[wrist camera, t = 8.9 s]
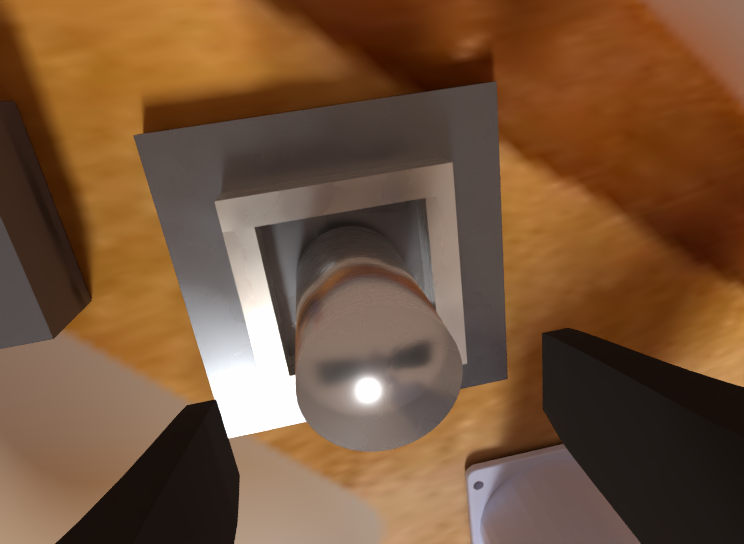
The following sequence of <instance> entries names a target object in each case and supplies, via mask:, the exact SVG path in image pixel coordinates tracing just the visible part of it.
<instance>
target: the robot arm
mask: <svg viewBox="0 0 744 544" xmlns="http://www.w3.org/2000/svg"><path fill="white" fill-rule="evenodd" d="M542 363H543V410H544V412H545V413H546V415H547V417H548V419H549V420H550V422H551V424H552V426H553V427H554V429H555V431H556V432H557V434H558V436H559V437H560V439H561V441H562V442H563V444H561V445H556V446H552V447H548V448H543V449H539V450H535V451H530V452H526V453H522V454H517V455H513V456H508V457H504V458H500V459H495V460H491V461H487V462H482V463H478V464H474V465H471V466H470V467H469V468H468V469H467V470H466V474H465V476H466V488H467V501H468V513H469V525H470V537H471V544H744V387H741V386H737V385H734V384H730V383H727V382H724V381H721V380H718V379H714V378H711V377H708V376H705V375H702V374H699V373H696V372H693V371H689V370H687V369H684V368H681V367H678V366H675V365H672V364H669V363H666V362H664V361H661V360H658V359H655V358H652V357H650V356H647V355H644V354H642V353H639V352H636V351H633V350H631V349H628V348H625V347H623V346H620V345H617V344H615V343H612V342H609V341H607V340H604V339H601V338H598V337H596V336H593V335H590V334H587V333H584V332H581V331H578V330H574V329H570V328H565V329H560V330H555V331H550V332H545V333H542ZM239 477H240V475H239V472H238V468H237V465H236V462H235V459H234V456H233V452H232V449H231V446H230V442H229V439H228V435H227V432H226V429H225V426H224V422H223V419H222V416H221V413H220V409H219V406H218V403H217V399H216V400H211V401H206V402H201V403H196V404H191V405H187V406H186V407H185V408H184V409H183V410H182V411H181V412H180V413H179V414H178V415H177V416H176V417H175V418H174V420H173V421H172V422H171V423H170V424H169V425H168V427H167V428H166V429H165V430H164V431H163V432H162V433H161V434H160V436H159V437H158V438H157V439H156V440H155V441H154V442H153V444H152V445H151V446H150V447H149V448H148V449H147V450H146V451H145V453H144V454H143V455H142V456H141V457H140V458H139V459H138V460H137V461H136V462H135V463H134V465H133V466H132V467H131V468H130V469H129V470H128V471H127V472H126V474H125V475H124V476H123V477H122V478H121V479H120V480H119V481H118V482H117V483H116V484H115V485H114V486H113V487H112V488H111V489H110V490H109V491H108V492H107V493H106V494H105V495H104V496H103V497H102V498H101V499H100V500H99V501H98V503H96V504H95V505H94V506H93V508H92V509H91V510H90V511H89V512H88V513H87V514H86V515H85V516H84V517H83V518H82V519H81V520H80V521H79V522H78V523H77V524H76V525H75V526H74V527H72V528H71V529H70V530H69V531H68V532H67V533H66V534H65V535H64V536H63V537H62V538H61V539H60V540H59V541H58V542H56V543H55V544H234V540H235V534H236V528H237V521H238V519H237V518H238V504H239V503H238V502H239ZM478 481H479V482H478ZM475 482H478V483H476V484H475Z"/></svg>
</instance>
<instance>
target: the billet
mask: <svg viewBox="0 0 744 544" xmlns="http://www.w3.org/2000/svg"><path fill="white" fill-rule="evenodd" d="M462 374H463V368H462V359H461V355H460V352H459V349H458V346H457V344H456V342H455V341H454V339H453V337H452V335H451V334H450V332H449V331H448V329H447V328H446V326H445V325H444V323H443V322H442V320H441V319H440V317H439V315H438V314H437V312H436V311H435V309H434V308H433V306H432V305H431V303H430V302H429V300H428V298H427V297H426V295H425V294H424V292H423V291H422V289H421V288H420V286H419V285H418V283H417V281H416V280H415V278H414V277H413V275H412V274H411V272H410V271H409V269H408V268H407V266H406V264H405V263H404V261H403V260H402V258H401V257H400V255H399V254H398V252H397V251H396V249H395V248H394V246H393V245H392V244H391V242H389V241H388V240H387V239H386V238H385V237H384V236H382V235H381V234H380V233H378V232H376V231H374V230H371V229H368V228H365V227H360V226H343V227H338V228H335V229H331V230H329V231H327V232H325V233H323V234H321V235H320V236H318V237H317V238H316V239H314V240H313V241H312V242H311V243H310V244H309V245H308V247H307V248H306V249H305V251H304V252H303V254H302V256H301V258H300V260H299V263H298V267H297V272H296V344H295V390H296V398H297V402H298V405H299V408H300V410H301V413H302V415H303V416H304V418H305V420H306V421H307V422H308V424H309V425H310V426H311V427H312V429H314V430H315V431H316V432H317V433H318V434H319V435H320V436H322V437H323V438H325V439H326V440H328V441H330V442H332V443H334V444H336V445H338V446H341V447H344V448H347V449H352V450H357V451H385V450H390V449H395V448H398V447H401V446H404V445H407V444H409V443H411V442H414V441H416V440H418V439H419V438H421V437H423V436H424V435H426V434H427V433H429V432H430V431H431V430H433V429H434V428H435V427H436V426H437V425H438V424H439V423H440V422H441V421H442V420H443V419H444V418H445V417H446V415H447V414H448V413H449V411H450V410H451V408H452V407H453V405H454V403H455V401H456V399H457V396H458V394H459V391H460V387H461V383H462Z"/></svg>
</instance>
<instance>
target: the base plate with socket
mask: <svg viewBox="0 0 744 544" xmlns="http://www.w3.org/2000/svg"><path fill="white" fill-rule="evenodd" d="M133 136H134V139H135V142H136V146H137V149H138V152H139V155H140V159H141V162H142V165H143V168H144V172H145V175H146V178H147V181H148V185H149V188H150V191H151V194H152V198H153V201H154V204H155V207H156V210H157V214H158V217H159V220H160V223H161V227H162V230H163V233H164V236H165V240H166V243H167V246H168V249H169V253H170V256H171V259H172V262H173V266H174V269H175V272H176V275H177V279H178V282H179V285H180V288H181V292H182V295H183V298H184V301H185V305H186V308H187V311H188V314H189V318H190V321H191V324H192V327H193V331H194V334H195V337H196V340H197V344H198V347H199V350H200V353H201V357H202V360H203V363H204V366H205V370H206V373H207V376H208V379H209V383H210V386H211V389H212V392H213V396H214V399H215V400H216V399H217V403H218V406H219V409H220V413H221V416H222V419H223V422H224V426H225V429H226V432H227V435H228V438H232V437H236V436H241V435H246V434H251V433H255V432H260V431H265V430H269V429H274V428H279V427H283V426H288V425H293V424H298V423H302V422H307V421H306V420H305V418H304V416H303V415H302V413H301V410H300V408H299V405H298V402H297V398H296V390H295V344H296V272H297V267H298V263H299V260H300V258H301V256H302V254H303V252H304V251H305V249H306V248H307V247H308V245H309V244H310V243H311V242H312V241H313V240H314V239H316V238H317V237H318V236H320V235H321V234H323V233H325V232H327V231H329V230H331V229H335V228H338V227H343V226H360V227H365V228H368V229H371V230H374V231H376V232H378V233H380V234H381V235H382V236H384V237H385V238H386V239H387V240H388V241H389V242H391V244H392V245H393V246H394V248H395V249H396V251H397V252H398V254H399V255H400V257H401V258H402V260H403V261H404V263H405V264H406V266H407V268H408V269H409V271H410V272H411V274H412V275H413V277H414V278H415V280H416V281H417V283H418V285H419V286H420V288H421V289H422V291H423V292H424V294H425V295H426V297H427V298H428V300H429V302H430V303H431V305H432V306H433V308H434V309H435V311H436V312H437V314H438V315H439V317H440V319H441V320H442V322H443V323H444V325H445V326H446V328H447V329H448V331H449V332H450V334H451V335H452V337H453V339H454V341H455V342H456V344H457V346H458V349H459V352H460V355H461V359H462V368H463V374H462V383H461V387H460V389H462V388H467V387H472V386H477V385H481V384H486V383H491V382H495V381H500V380H505V379H508V376H507V349H506V323H505V296H504V270H503V243H502V217H501V190H500V164H499V137H498V110H497V84H496V81H495V82H484V83H478V84H471V85H464V86H457V87H451V88H444V89H437V90H430V91H424V92H417V93H410V94H404V95H397V96H390V97H383V98H377V99H370V100H363V101H356V102H350V103H343V104H336V105H330V106H323V107H316V108H309V109H303V110H296V111H289V112H282V113H276V114H269V115H262V116H255V117H249V118H242V119H235V120H229V121H222V122H215V123H208V124H202V125H195V126H188V127H181V128H175V129H168V130H161V131H155V132H148V133H142V134H137V135H133Z"/></svg>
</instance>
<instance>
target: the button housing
mask: <svg viewBox="0 0 744 544" xmlns="http://www.w3.org/2000/svg"><path fill="white" fill-rule="evenodd" d="M91 301H92V300H91V298H90V295H89V293H88V290H87V287H86V285H85V282H84V280H83V277H82V274H81V272H80V269H79V267H78V264H77V261H76V259H75V256H74V254H73V251H72V249H71V246H70V243H69V241H68V238H67V236H66V233H65V230H64V228H63V225H62V223H61V220H60V217H59V215H58V212H57V210H56V207H55V205H54V202H53V199H52V197H51V194H50V192H49V189H48V186H47V184H46V181H45V179H44V176H43V173H42V171H41V168H40V166H39V163H38V160H37V158H36V155H35V153H34V150H33V148H32V145H31V142H30V140H29V137H28V135H27V132H26V129H25V127H24V124H23V122H22V119H21V116H20V114H19V111H18V109H17V106H16V104H15V101H0V349H2V348H7V347H13V346H18V345H24V344H28V343H34V342H40V341H45V340H50V339H54V338H55V337H56V336H57V335H58V334H59V333H60V332H61V331H62V330H63V329H64V328H65V327H66V326H67V325H68V324H69V323H70V322H71V321H72V320H73V319H74V318H75V317H76V316H77V315H78V314H79V313H80V312H81V311H82V310H83V309H84V308H85V307H86V306H87V305H88V304H89V303H90V302H91Z"/></svg>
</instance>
